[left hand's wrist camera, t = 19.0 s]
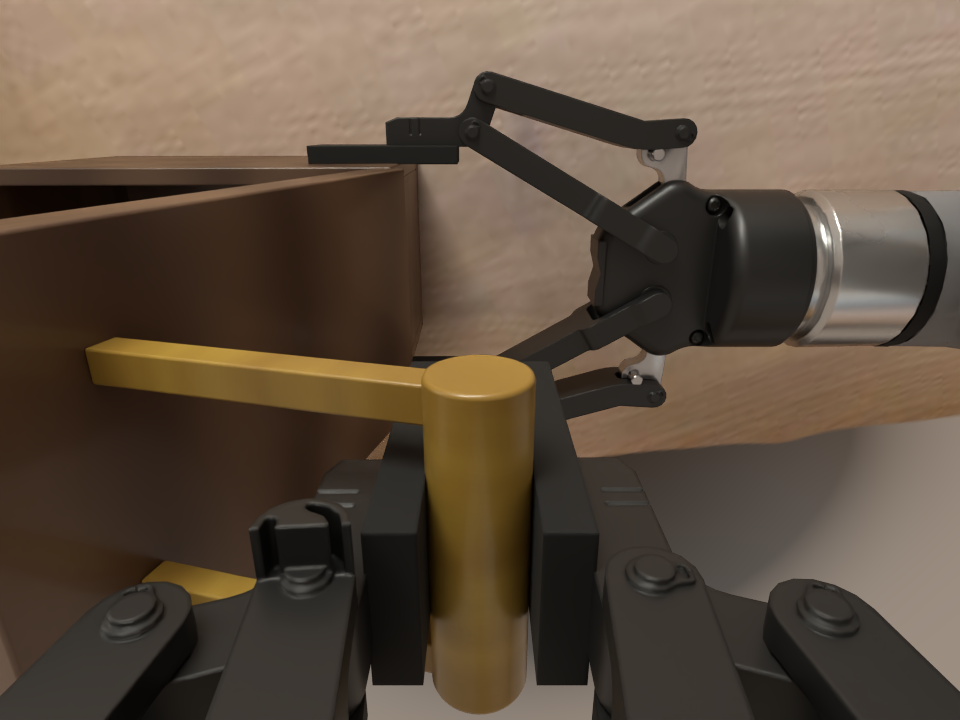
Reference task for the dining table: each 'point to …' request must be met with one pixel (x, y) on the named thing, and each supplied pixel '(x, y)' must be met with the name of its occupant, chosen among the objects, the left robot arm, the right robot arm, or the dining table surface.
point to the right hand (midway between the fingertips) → (325, 270)
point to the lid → (243, 411)
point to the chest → (183, 189)
